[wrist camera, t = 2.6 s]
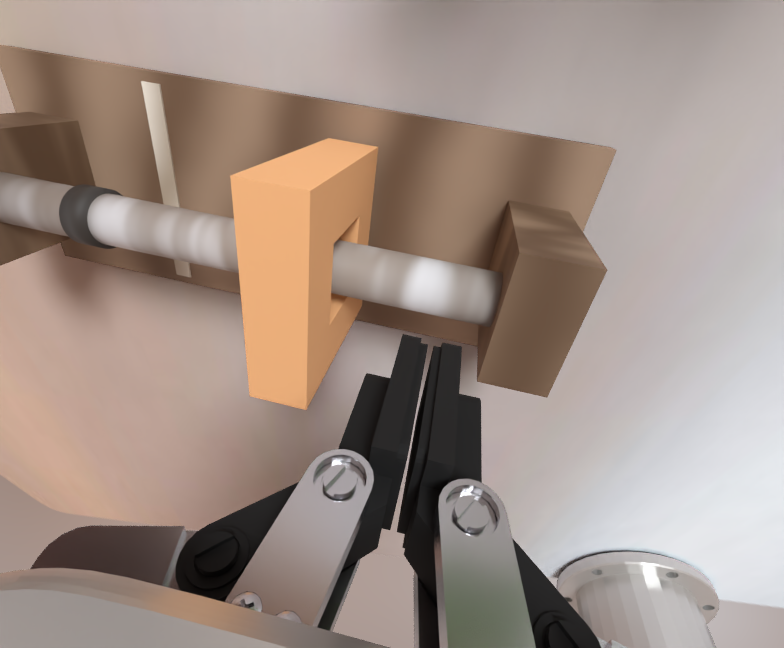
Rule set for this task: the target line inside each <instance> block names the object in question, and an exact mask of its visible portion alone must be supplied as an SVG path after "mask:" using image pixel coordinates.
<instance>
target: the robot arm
mask: <svg viewBox="0 0 784 648" xmlns="http://www.w3.org/2000/svg"><path fill="white" fill-rule="evenodd" d="M427 347H428V345H427V344H422V343H421V338H418V337H414V336H409V335H404V334H403V336H402V339H401V343H400V346H399V350H398V353H397V357H396V360H395V364H394V367H393V371H392V374H391V378H386V377H381V376H377V375H372V374H368V373H367V374H366V376H365V378H364V381H363V383H362V386H361V389H360V392H359V394H358V397H357V400H356V403H355V405H354V408H353V411H352V413H351V416H350V419H349V422H348V424H347V427H346V430H345V433H344V435H343V438H342V441H341V443H340V446H339V449H334V450H331V451H327V452H324V453H323V454H321V455H320V456H318V457H316V459H315V460H314V461H313V462H312V463H311V464H310V466H309V467H308V469H307V470H306V472H305V474H304V475H303V477H302V478H301V480H300V482H298V483H296V484H294V485H292V486H290V487H287V488H285V489H283V490H281V491H279V492H277V493H275V494H273V495H270V496H268V497H266V498H264V499H262V500H260V501H258V502H256V503H253V504H251V505H249V506H247V507H245V508H243V509H241V510H239V511H237V512H234V513H232V514H230V515H228V516H226V517H224V518H222V519H220V520H217V521H215V522H213V523H211V524H209V525H207V526H206V527H204V528H202V529H201V530H199V531H185V527H184V526H85V527H79V528H76V529H73V530H71V531H69V532H67V533H64V534H62V535H61V536H60V537H58V538H57V539H55V540H54V541H53V542H52V543H50V544H49V545H48V546H47V547H46V548H45V549H44V551H43V552H42V553H41V554H40V555H39V557H38V558H37V560H36V561H35V562H34V564H33V565H32V567H31V569H28V570H18V571H11V572H6V573H0V648H389V647H385V646H382V645H378V644H375V643H371V642H367V641H364V640H360V639H357V638H353V637H349V636H345V635H342V634H339V633H335V632H332V631H333V629H334V626H335V624H336V621H337V619H338V616H339V613H340V611H341V609H342V606H343V603H344V601H345V598H346V596H347V593H348V591H349V588H350V585H351V583H352V581H353V578H354V576H355V573H356V571H357V568H358V565H359V562H360V559H361V558H362V557H364V556H365V555H367V554H369V553H370V552H372V551H373V550H375V549H376V548H377V547H378V543H379V538H380V533H381V528H383V529H387V530H390V529H391V524H392V520H393V516H394V512H395V507H396V503H397V499H398V495H399V490H400V486H401V482H402V478H403V474H404V469H405V465H406V461H407V456H408V451H409V446H410V441H411V435H412V430H413V424H414V419H415V413H416V408H417V402H418V397H419V391H420V386H421V380H422V375H423V369H424V364H425V358H426V353H427ZM461 350H462V347H461V346H456V345H451V344H446V343H442V345H441V347H436V346H434V347H433V352H432V356H431V360H430V364H429V368H428V373H427V377H426V381H425V385H424V390H423V394H422V398H421V402H420V406H419V411H418V415H417V420H416V425H415V431H414V437H413V442H412V448H411V454H410V459H409V465H408V471H407V477H406V482H405V488H404V494H403V499H402V505H401V511H400V516H399V522H398V528H397V532H399V533H403V534H405V536H404V543H403V548H405V552H404V555H405V557H406V559H407V560H408V562H409V563H410V565H411V566H412V567H413V569H414V648H716V646H715V643H714V641H713V638H712V636H711V634H710V632H709V629H708V626H707V624H708V623H709V622H710V621H711V620H712V619H713V618H714V617H715V616H716V614H717V612H718V610H719V599H718V597H717V594H716V592H715V589H714V587H713V585H712V584H711V582H710V580H709V579H708V578H707V577H706V576H705V575H704V574H703V573H701V572H700V571H698V570H697V569H695V568H694V567H692V566H690V565H688V564H686V563H683V562H681V561H679V560H676V559H673V558H669V557H666V556H662V555H657V554H651V553H644V552H630V551H629V552H610V553H602V554H597V555H593V556H589V557H586V558H583V559H581V560H578V561H576V562H574V563H573V564H571V565H570V566H568V567H567V568H566V569H565V570H564V571H563V572H562V573H561V574H560V576H559V578H558V580H557V589H556V588H555V587H554V586H553V584H552V583H551V582H550V581H549V580H548V579H547V577H546V576H545V575H544V574H543V573H542V572H541V570H540V569H539V568H538V567H537V566H536V565H535V564H534V562H533V561H532V560H531V559H530V558H529V557H528V556H527V554H526V553H525V552H524V551H523V550H522V549H521V547H520V546H519V545H518V544H517V543H516V542H515V541H514V539H513V538H512V535H511V530H510V526H509V521H508V516H507V512H506V510H505V507H504V504H503V502H502V501H501V499H500V498H499V497H498V495H497V494H496V493H495V492H494V491H493V490H492V489H491V488H489V487H488V486H487V485H485V484H483V483H482V481H481V400H480V398H476V397H471V396H467V395H462V394H459V384H460V367H461Z"/></svg>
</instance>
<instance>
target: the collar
mask: <svg viewBox="0 0 784 648" xmlns="http://www.w3.org/2000/svg"><path fill="white" fill-rule="evenodd" d="M377 155H378V147H376V146H370V145H365V144H359V143H354V142H348V141H342V140H337V139H331V138H328V139H325V140H322V141H320V142H317V143H314V144H312V145H309V146H307V147H304V148H301V149H299V150H296V151H293V152H291V153H288V154H286V155H283V156H280V157H278V158H275V159H272V160H270V161H267V162H265V163H262V164H259V165H257V166H254V167H252V168H249V169H246V170H244V171H241V172H238V173H236V174H233V175H231V176H230V179H231V190H232V201H233V213H234V224H235V235H236V246H237V258H238V269H239V280H240V292H241V303H242V314H243V325H244V337H245V348H246V359H247V370H248V382H249V393H250V396H251V397H255V398H259V399H263V400H267V401H272V402H276V403H280V404H284V405H288V406H292V407H296V408H300V409H304V410H307V408H308V406H309V404H310V402H311V400H312V398H313V396H314V395H315V393H316V391H317V389H318V387H319V385H320V383H321V382H322V380H323V378H324V376H325V374H326V372H327V370H328V368H329V367H330V365H331V363H332V361H333V359H334V357H335V355H336V353H337V352H338V350H339V348H340V346H341V344H342V342H343V340H344V338H345V337H346V335H347V333H348V331H349V329H350V327H351V325H352V324H353V322H354V320H355V318H356V316H357V314H358V312H359V310H360V309H361V307H362V300H361V299H356V298H351V297H347V296H342V295H337V294H333V293H331V286H332V268H333V249H334V243H335V242H336V241H337V240H342V241H347V242H352V243H357V244H362V245H367V246H368V241H369V232H370V222H371V213H372V203H373V193H374V184H375V174H376V165H377Z"/></svg>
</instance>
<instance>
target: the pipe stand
mask: <svg viewBox="0 0 784 648" xmlns="http://www.w3.org/2000/svg"><path fill="white" fill-rule="evenodd" d="M0 68H1V71H2V74H3V77H4V80H5V82H6V85H7V88H8V91H9V94H10V97H11V100H12V103H13V106H14V108H15V111H16V113H6V114H0V265H3V264H5V263H8V262H11V261H13V260H16V259H18V258H21V257H24V256H26V255H29V254H31V253H34V252H36V251H39V250H42V249H44V248H47V247H49V246H52V245H55V244H57V243H60V242H61V245H62V248H63V251H64V253H65V256H70V257H74V258H79V259H83V260H88V261H92V262H97V263H102V264H106V265H111V266H115V267H120V268H124V269H129V270H133V271H138V272H142V273H147V274H151V275H156V276H161V277H165V278H170V279H174V280H179V281H183V282H188V283H192V284H197V285H201V286H206V287H210V288H215V289H219V290H224V291H229V292H233V293H238V294H241V292H240V280H239V269H238V258H237V246H236V235H235V224H234V213H233V201H232V190H231V179H230V176H231V175H233V174H236V173H238V172H241V171H244V170H246V169H249V168H252V167H254V166H257V165H259V164H262V163H265V162H267V161H270V160H272V159H275V158H278V157H280V156H283V155H286V154H288V153H291V152H293V151H296V150H299V149H301V148H304V147H307V146H309V145H312V144H314V143H317V142H320V141H322V140H325V139H328V138H331V139H337V140H342V141H348V142H354V143H359V144H365V145H370V146H376V147H378V155H377V165H376V174H375V184H374V193H373V203H372V213H371V222H370V232H369V241H368V246H367V245H362V244H357V243H352V242H347V241H342V240H337V241H336V242H335V243H334V249H333V268H332V286H331V293H333V294H337V295H342V296H347V297H351V298H356V299H361V300H362V307H361V309H360V310H359V312H358V314H357V316H356V318H355V319H356V320H360V321H365V322H369V323H374V324H378V325H383V326H387V327H392V328H396V329H401V330H405V331H410V332H415V333H419V334H424V335H428V336H433V337H437V338H442V339H446V340H451V341H455V342H460V343H464V344H469V345H473V346H478V360H477V382H482V383H486V384H490V385H495V386H499V387H504V388H508V389H512V390H517V391H521V392H525V393H530V394H534V395H539V396H543V397H548V394H549V392H550V390H551V388H552V386H553V384H554V382H555V380H556V378H557V375H558V373H559V371H560V369H561V367H562V365H563V363H564V361H565V358H566V356H567V354H568V352H569V350H570V348H571V346H572V344H573V342H574V339H575V337H576V335H577V333H578V331H579V329H580V327H581V325H582V322H583V320H584V318H585V316H586V314H587V312H588V310H589V308H590V306H591V303H592V301H593V299H594V297H595V295H596V293H597V291H598V289H599V287H600V284H601V282H602V280H603V278H604V276H605V274H606V272H607V269H606V267H605V266H604V264H603V263H602V261H601V260H600V258H599V256H598V255H597V253H596V252H595V250H594V249H593V247H592V246H591V244H590V243H589V241H588V240H587V238H586V237H585V235H584V233H583V230H584V228H585V225H586V223H587V221H588V218H589V216H590V213H591V211H592V208H593V206H594V204H595V201H596V199H597V196H598V194H599V191H600V189H601V187H602V184H603V182H604V179H605V177H606V174H607V172H608V170H609V167H610V165H611V162H612V160H613V157H614V155H615V153H616V150H615V149H613V148H611V147H605V146H599V145H594V144H588V143H582V142H576V141H570V140H564V139H558V138H552V137H546V136H540V135H534V134H528V133H522V132H516V131H511V130H505V129H499V128H493V127H487V126H481V125H475V124H469V123H463V122H457V121H451V120H445V119H439V118H433V117H428V116H422V115H416V114H410V113H404V112H398V111H392V110H386V109H380V108H374V107H368V106H362V105H356V104H350V103H345V102H339V101H333V100H327V99H321V98H315V97H309V96H303V95H297V94H291V93H285V92H279V91H273V90H267V89H261V88H256V87H250V86H244V85H238V84H232V83H226V82H220V81H214V80H208V79H202V78H196V77H190V76H184V75H178V74H173V73H167V72H161V71H155V70H149V69H143V68H137V67H131V66H125V65H119V64H113V63H107V62H101V61H95V60H90V59H84V58H78V57H72V56H66V55H60V54H54V53H48V52H42V51H36V50H30V49H24V48H18V47H12V46H5V45H0Z"/></svg>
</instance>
